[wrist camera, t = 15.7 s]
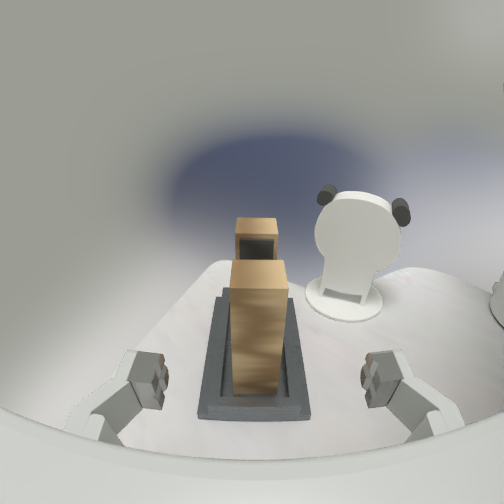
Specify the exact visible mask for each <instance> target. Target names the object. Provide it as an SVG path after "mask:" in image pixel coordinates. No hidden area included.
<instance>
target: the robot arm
mask: <svg viewBox="0 0 504 504" xmlns="http://www.w3.org/2000/svg"><path fill="white" fill-rule="evenodd" d="M503 89H504V84H503ZM503 91H504V90H503ZM490 308H491V311H492V313H493V315H494V316H495V318H496V319H497V320H498V322H499V323H500V324H501V325H502V326H503V327H504V272H503V274H502V277H501V279H500V281H499V282H495V284H494V286H493V295H492V297H491V299H490ZM365 360H366V364H365V365H364V366H363V367H362V370H361V377H360V379H361V385H362V388H363V389H365V390H366V391H367V392H366V394H365V399H366V402H367V406H368V408H376V407H384V406H387V408H388V409H389V410H390V411H391V412H392V413H393V414H394V415H395V416H396V417H397V418H398V419H399V420H400V421H401V422H402V423H403V424H404V425H405V426H406V427H407V428H408V429H409V430H410V431H411V432H412V434H411V435H410V437H409V438H408V439H407V440H406V442H405V443H404V444H400V445H395V446H390V447H385V448H380V449H375V450H369V451H363V452H357V453H350V454H343V455H334V456H325V457H314V458H301V459H281V460H233V459H213V458H200V457H189V456H180V455H172V454H164V453H158V452H151V451H145V450H139V449H134V448H129V447H124V445H123V443H122V442H121V441H120V439H119V438H118V437H117V434H118V433H119V432H120V431H121V430H122V429H123V428H124V427H125V426H126V425H127V424H128V423H129V422H130V421H131V420H132V419H133V418H134V417H135V416H136V415H137V414H138V413H139V412H140V411H141V410H142V408H146V409H155V410H162V407H163V403H164V399H165V396H164V393H163V392H164V391H165V390H166V389H167V386H168V379H169V375H168V369H167V367H166V366H165V365H164V362H165V359H164V355H163V354H158V353H150V352H141V351H132V350H127V351H126V352H125V354H124V356H123V359H122V361H121V364H120V366H119V369H118V371H117V374H116V376H115V379H110V380H109V381H108V382H106V383H105V384H103V385H102V386H101V387H99V388H98V389H97V390H95V391H94V392H92V393H91V394H90V395H88V396H87V397H86V398H84V399H83V400H81V401H80V402H79V403H77V404H76V405H74V406H73V407H72V409H71V411H70V413H69V416H68V418H67V420H66V423H65V425H64V428H63V430H59V429H56V428H53V427H50V426H47V425H44V424H41V423H39V422H36V421H33V420H31V419H28V418H26V417H23V416H21V415H18V414H16V413H13V412H11V411H9V410H7V409H4V408H1V407H0V504H504V411H502V412H500V413H498V414H495V415H493V416H490V417H488V418H485V419H483V420H480V421H477V422H475V423H472V424H469V425H465V423H464V421H463V418H462V416H461V414H460V412H459V409H458V407H457V405H456V404H455V403H454V402H453V401H451V400H450V399H448V398H447V397H446V396H444V395H443V394H441V393H440V392H439V391H437V390H436V389H434V388H433V387H432V386H430V385H429V384H428V383H426V382H425V381H423V380H422V379H421V378H419V377H415V375H414V373H413V371H412V369H411V366H410V364H409V362H408V360H407V358H406V356H405V353H404V351H403V350H402V349H399V350H391V351H381V352H372V353H368V354H367V356H366V358H365Z"/></svg>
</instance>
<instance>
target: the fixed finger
mask: <svg viewBox="0 0 504 504" xmlns="http://www.w3.org/2000/svg"><path fill="white" fill-rule="evenodd" d="M235 244H236V245H235V247H236V248H235V250H236V260H277V248H278V229H277V223H276V219H275V218H237V226H236V232H235Z"/></svg>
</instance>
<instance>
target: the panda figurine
mask: <svg viewBox="0 0 504 504" xmlns="http://www.w3.org/2000/svg"><path fill="white" fill-rule="evenodd" d="M336 193H337V189H336V187H335V186H333V185H326V186H324V188H323V189H322V190H321V191H320V193H319V194H318V196H317V203H318V204H319V205H323V206H325V207H324V208H323V210H322V212H321V214H320V215H319V218H318V220H317V223H316V227H315V241H316V244H317V247H318V249H319V251H320V253H321V254H322V255H323V256H324V257H325V263H324V270H323V275H322V276H319V277H317V278H315V279H313V280H312V281H310V282H309V283H308V285H307V286H306V290H305V298H306V300H307V302H308V304H309V305H310V306H311V307H312V308H313V309H314V310H315V311H316V312H318V313H319V314H321V315H323V316H325V317H327V318H330V319H333V320H336V321H341V322H362V321H366V320H369V319H372V318H373V317H375V316H376V315H377V314H378V313H379V312H380V311H381V309H382V305H383V298H382V295H381V294H380V292H379V291H378V290H377V288H376V287H374V286H373V285H372V281H373V279H374V276H375V273H376V272H379V271H381V270H383V269H385V268H387V267H388V266H389V265H391V264H392V263H393V262H394V261H395V260H396V259H397V257H398V256H399V254H400V250H401V231H400V226H401V227H405V226H407V225H408V224H409V223H410V220H411V216H410V211H409V207H408V204H407V202H406V201H405V200H404V199H402V198H397V199H395V200H394V201H393V203H392V207H391V205H390V204H389V203H388V202H387V201H385V200H384V199H382V198H380V197H378V196H375V195H373V194H369V193H365V192H357V191H345V192H341V193H338V194H336Z"/></svg>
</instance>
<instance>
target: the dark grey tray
mask: <svg viewBox="0 0 504 504" xmlns="http://www.w3.org/2000/svg"><path fill="white" fill-rule="evenodd" d="M197 414H198V418H199V419H208V420H226V421H297V420H309V419H310V416H311V411H310V404H309V397H308V391H307V384H306V377H305V371H304V364H303V358H302V351H301V345H300V339H299V333H298V327H297V321H296V315H295V309H294V303H293V298H288V300H287V310H286V320H285V329H284V339H283V348H282V356H281V365H280V373H279V381H278V389H277V394H234V393H233V371H232V348H231V321H230V290H229V288H223V293H222V297H216V300H215V306H214V312H213V318H212V324H211V330H210V336H209V342H208V348H207V354H206V360H205V367H204V373H203V379H202V386H201V392H200V399H199V406H198V412H197Z"/></svg>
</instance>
